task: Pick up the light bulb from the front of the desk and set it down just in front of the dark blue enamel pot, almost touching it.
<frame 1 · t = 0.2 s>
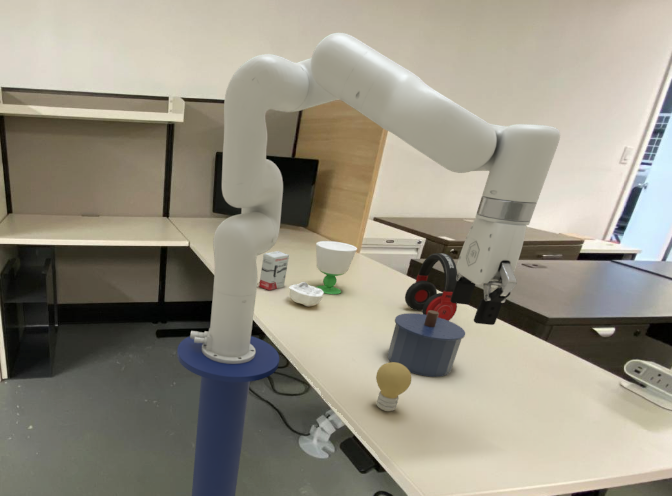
hand: (470, 312, 80), 23 cm above the table, tool pointing down, fingers open, 9 cm apart
pot: (418, 362, 115), on the table
light bulb: (385, 408, 94), on the table
headphones: (425, 317, 146), on the table
cell model: (304, 304, 149), on the table
cup: (327, 290, 164), on the table
ink box: (271, 287, 163), on the table
pot lid: (428, 327, 111), point 9 cm above the table, touching pot
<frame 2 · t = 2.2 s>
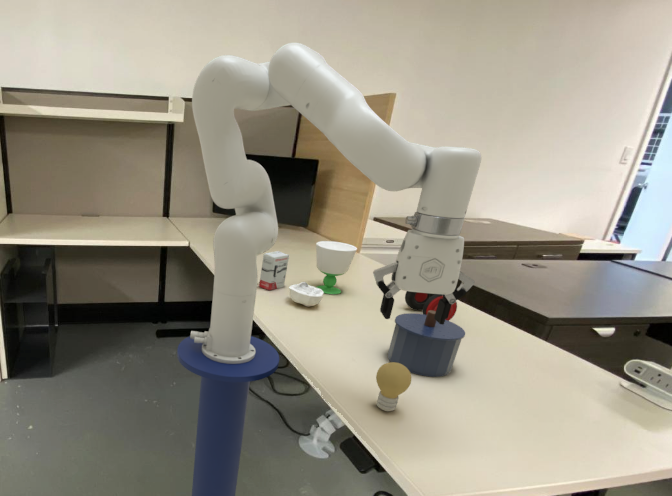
hand: (411, 319, 86), 20 cm above the table, tool pointing down, fingers open, 9 cm apart
nothing on the table moved.
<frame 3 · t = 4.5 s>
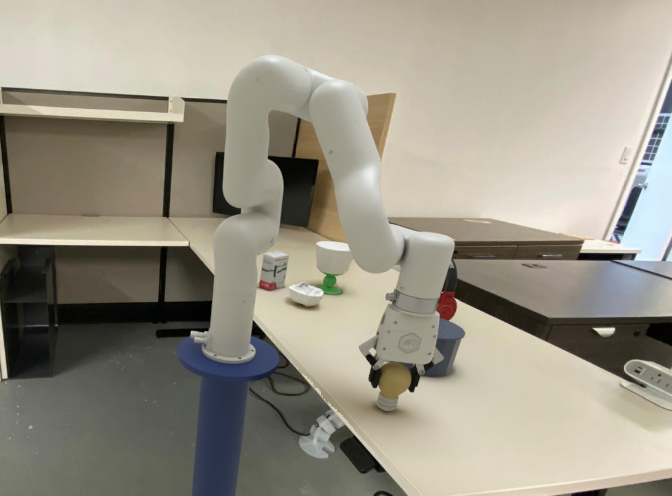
hand: (391, 386, 92), 5 cm above the table, tool pointing down, fingers closed on light bulb, 6 cm apart
light bulb: (385, 408, 94), on the table, touching gripper
everything else where it was.
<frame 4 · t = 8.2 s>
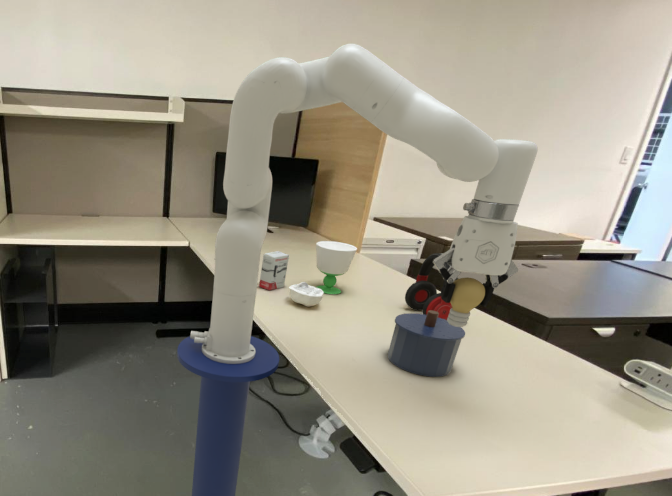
hand: (463, 301, 94), 21 cm above the table, tool pointing down, fingers closed on light bulb, 6 cm apart
light bulb: (455, 325, 96), point 16 cm above the table, touching gripper
everything else where it was.
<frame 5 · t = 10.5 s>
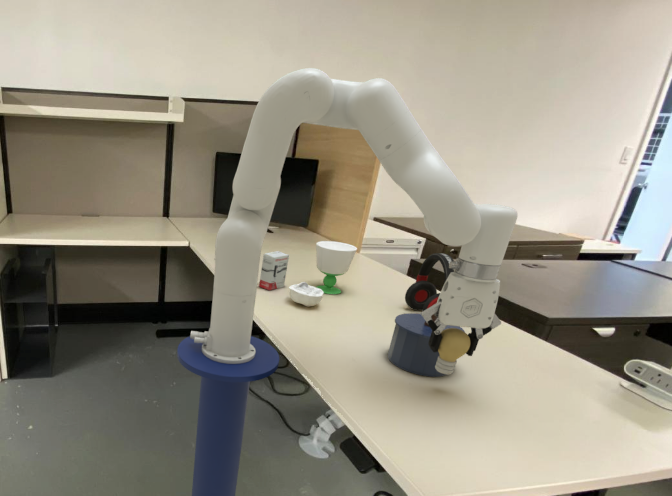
hand: (450, 350, 99), 10 cm above the table, tool pointing down, fingers closed on light bulb, 6 cm apart
light bulb: (443, 372, 101), point 4 cm above the table, touching gripper
everything else where it was.
when the fingers open (5 cm above the table, at t = 12.0 s): light bulb stays where it is, on the table.
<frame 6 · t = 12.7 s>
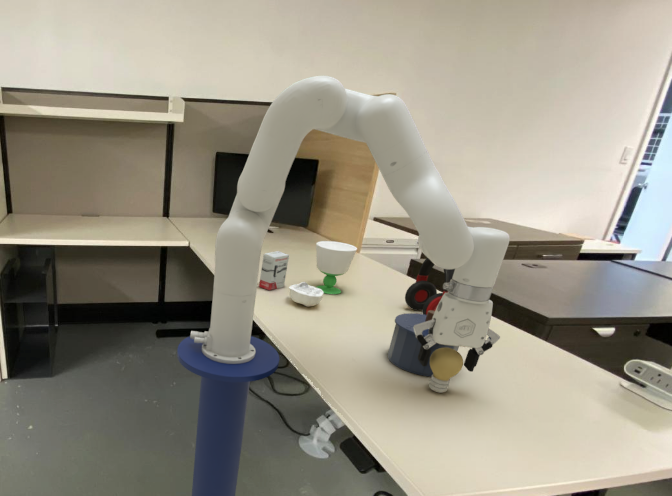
hand: (445, 366, 101), 6 cm above the table, tool pointing down, fingers open, 9 cm apart
light bulb: (436, 390, 103), on the table
everything else where it was.
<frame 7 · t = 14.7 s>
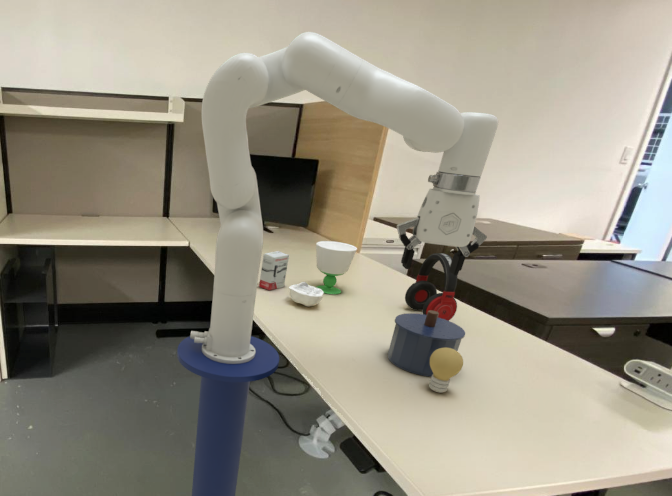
hand: (429, 270, 96), 25 cm above the table, tool pointing down, fingers open, 9 cm apart
nothing on the table moved.
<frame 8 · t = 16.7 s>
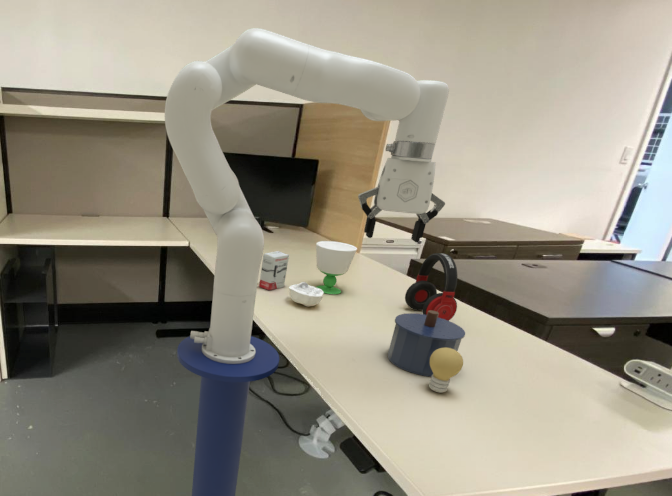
hand: (391, 238, 99), 30 cm above the table, tool pointing down, fingers open, 9 cm apart
nothing on the table moved.
at the end: light bulb inside the target area on the table beside the pot (0.1 cm from its centre), on the table; the gripper is holding nothing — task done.
